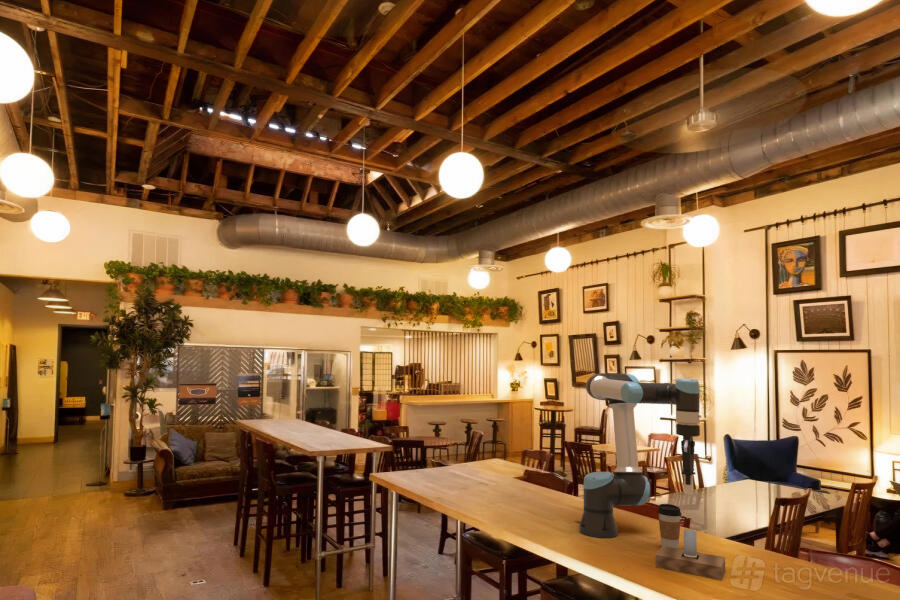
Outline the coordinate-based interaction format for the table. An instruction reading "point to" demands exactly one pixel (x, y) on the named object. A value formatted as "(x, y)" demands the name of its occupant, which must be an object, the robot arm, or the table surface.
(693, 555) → the peg
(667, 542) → the coffee cup
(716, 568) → the board
